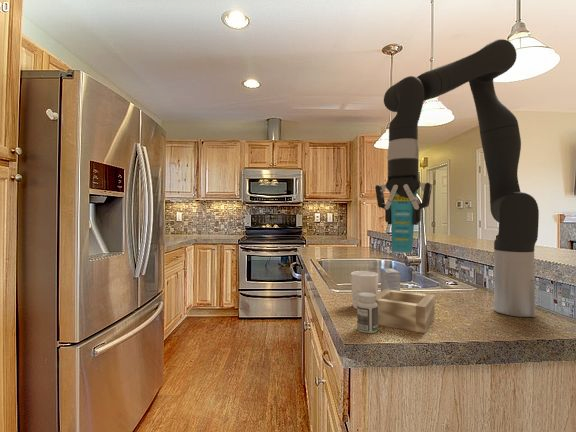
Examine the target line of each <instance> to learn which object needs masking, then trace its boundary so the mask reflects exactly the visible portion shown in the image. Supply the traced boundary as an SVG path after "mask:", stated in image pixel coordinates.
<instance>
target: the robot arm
mask: <svg viewBox="0 0 576 432" xmlns="http://www.w3.org/2000/svg"><path fill="white" fill-rule="evenodd" d="M516 60H517V50H516V47H515V46H514V44H513V43H512V42H511V41H509V40H507V39H504V38H503V39H501V38H500V39H495V40H493V41H490V42H489V43H487V44H486V45H484V46H482V47H481V48H480V49H478V50H477V51H475V52H473V53H472V54H469V55H467V56H465V57H462V58H459V59H457V60H455V61H452V62H449V63H446V64H444V65H441V66H438V67H436V68H433V69H429V70H427V71H425V72H423V73H421V74H419V75H418V76H414V75H413V76H412V75H410V76H406V77H404V78H402V79H401V80H399V81H397V82H396V83H394V84H393V85H391V86H390V87H388V88H387V90H386V91H385V93H384V96H383V104H384V106H385V108H386V110H388V111H390V112H392V113H396V115H395V116H394V117H393V118H392V119H391V121H390V122H389V125H388V148H387V156H386V157H387V158H386V159H387V181H386V183H385V184H381V185H380V184H379V185H377V184H376V185H375V187H374V188H375V196H376V202H377V207H378V208H380V209H383V210H385V211H384V213H385V216H384V217H385V218H384V219H385V220H384V221H385V223H386V224H387V225H391V203H392V200H393V198H394V196H395V194H396V193H397V194H398V195H399V196H401V197H405V198H408V197H409V199H410V201H411V202H412V204H413V207H414V209H415V210H413V224H414V226H417V225H419V223H421V221H422V219H421V218H422V217H421V216H422V210H423V209H425V208H429V205H430V202H431V201H430V200H431V194H432V188H433V184H432V183H429V182H421V181H420V177H419V173H420V170H419V169H420V167H419V166H420V165H419V164H420V163H419V162H420V160H419V158H420V157H419V151H420V150H419V141H418V140H419V139H418V138H419V137H418V136H419V134H418V133H419V130H418V129H419V127H418V123H419V120H420V117H421V113H422V109H423V106H424V102H425V101H428V100H432V99H434V98H437V97H439V96H442V95H445V94H447V93H449V92H451V91H453V90H455V89H457V88H459V87H462V86H463V85H464V84H467V83H468V85H469V87H470V91H471V95H472V98H473V102H474V107H475V111H476V117H477V121H478V126H479V127H478V128H479V129H478V130H479V136H480V142H481V147H482V152H483V157H484V163H485V168H486V173H487V177H488V185H489V206H490V213H491V217H492V218H493V219H494V220H495V221H496V222H497V223H498V234H497V236H496V238H495V239H494V241H493V310H494V312H497V313H499V314H503V315H507V316H512V317H518V318H519V317H520V318H536V282H535V246H536V244H537V241H538V237H539V218H540V216H539V215H540V211H539V205H538V202H537V200H536V199H535V198H534V196H532V195H531V194H529V193H526V192H522V191H521V189H520V184H519V178H518V176H519V175H518V171H519V170H518V169H519V162H520V157H521V152H522V151H521V149H522V140H521V139H522V138H521V133H520V127H519V121H518V119H517V117H516V116H515V115H514V113H513V112H512V111H511V110H510V109H508V107H507V106H506V105H504V104H503V103H502V102H501V101H500V99H499V98H498V95H497V94H496V91H495V85H494V79H496V78H497V77H499V76H501V75H503V74H505V73H506V72H508V71H509V70H510V69H511V68H512V67H513V66H514V65H515V63H516ZM418 177H419V178H418ZM420 188H421V192H423V194H422V199H421V200H422V201H421V202H420V201H419V199H418V196H417V195H416V197H414V195H413V194H414V193H415V191H416V190H417V191H418V190H419V189H420ZM386 190H387V191H388V192H389V195H388V198H387V199H386V200H387V201H386V202H385V195H384V194H385V193H386ZM391 190H392V191H391ZM390 192H391V193H390Z"/></svg>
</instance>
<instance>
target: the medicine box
mask: <svg viewBox="0 0 576 432" xmlns="http://www.w3.org/2000/svg"><path fill="white" fill-rule="evenodd" d="M385 289H387V290H395V291H401V273H400V271H398V270H397V269H394V268H380V292H382V291H383V290H385Z"/></svg>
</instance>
